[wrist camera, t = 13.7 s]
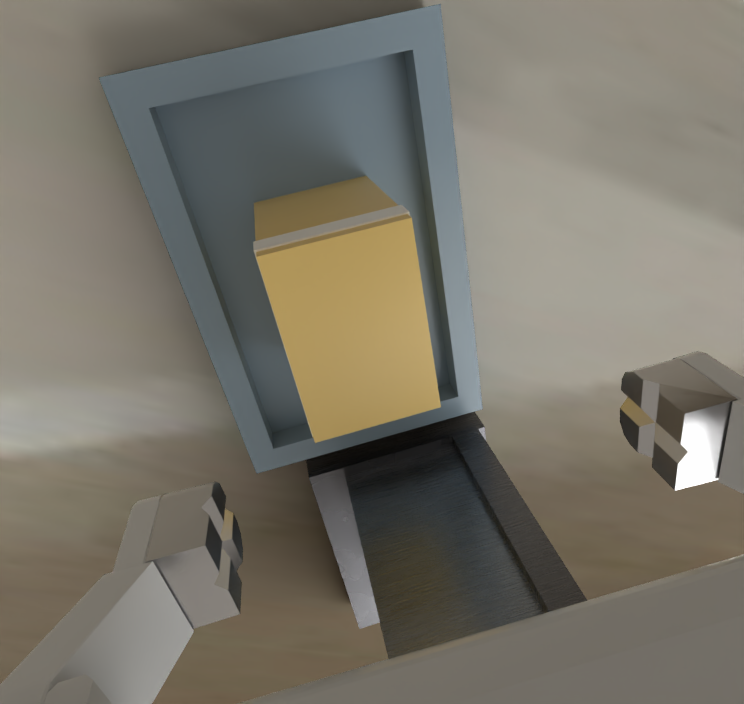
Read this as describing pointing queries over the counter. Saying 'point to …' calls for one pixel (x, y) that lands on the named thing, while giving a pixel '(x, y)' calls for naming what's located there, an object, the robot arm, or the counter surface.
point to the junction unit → (435, 536)
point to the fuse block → (348, 304)
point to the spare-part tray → (294, 174)
